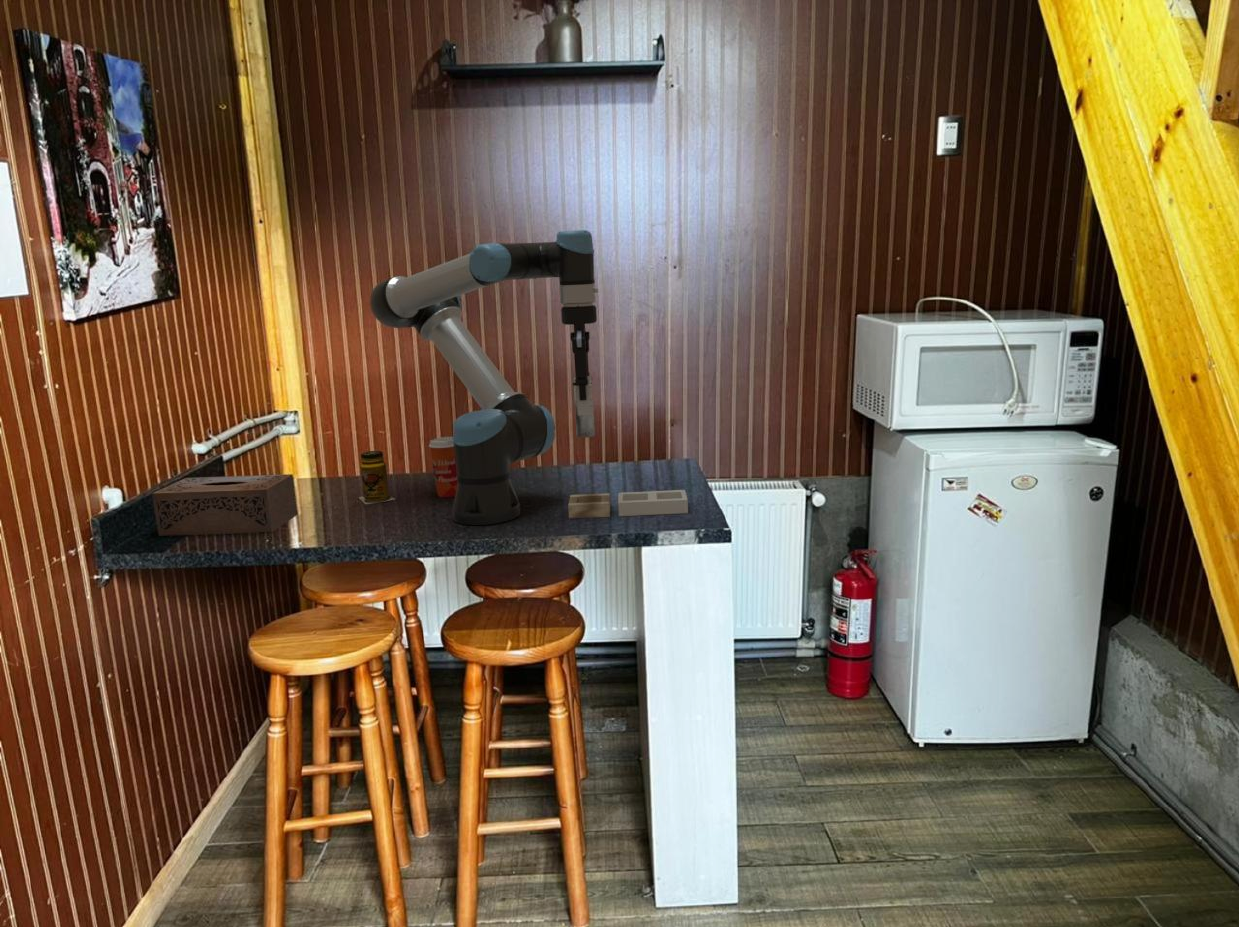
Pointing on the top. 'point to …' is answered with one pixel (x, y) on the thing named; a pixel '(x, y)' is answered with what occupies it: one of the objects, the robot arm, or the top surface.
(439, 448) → the paper cup
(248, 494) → the tissue box cover
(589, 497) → the socket block
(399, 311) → the robot arm
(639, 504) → the rack
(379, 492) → the condiment
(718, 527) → the top surface
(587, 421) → the grey peg
